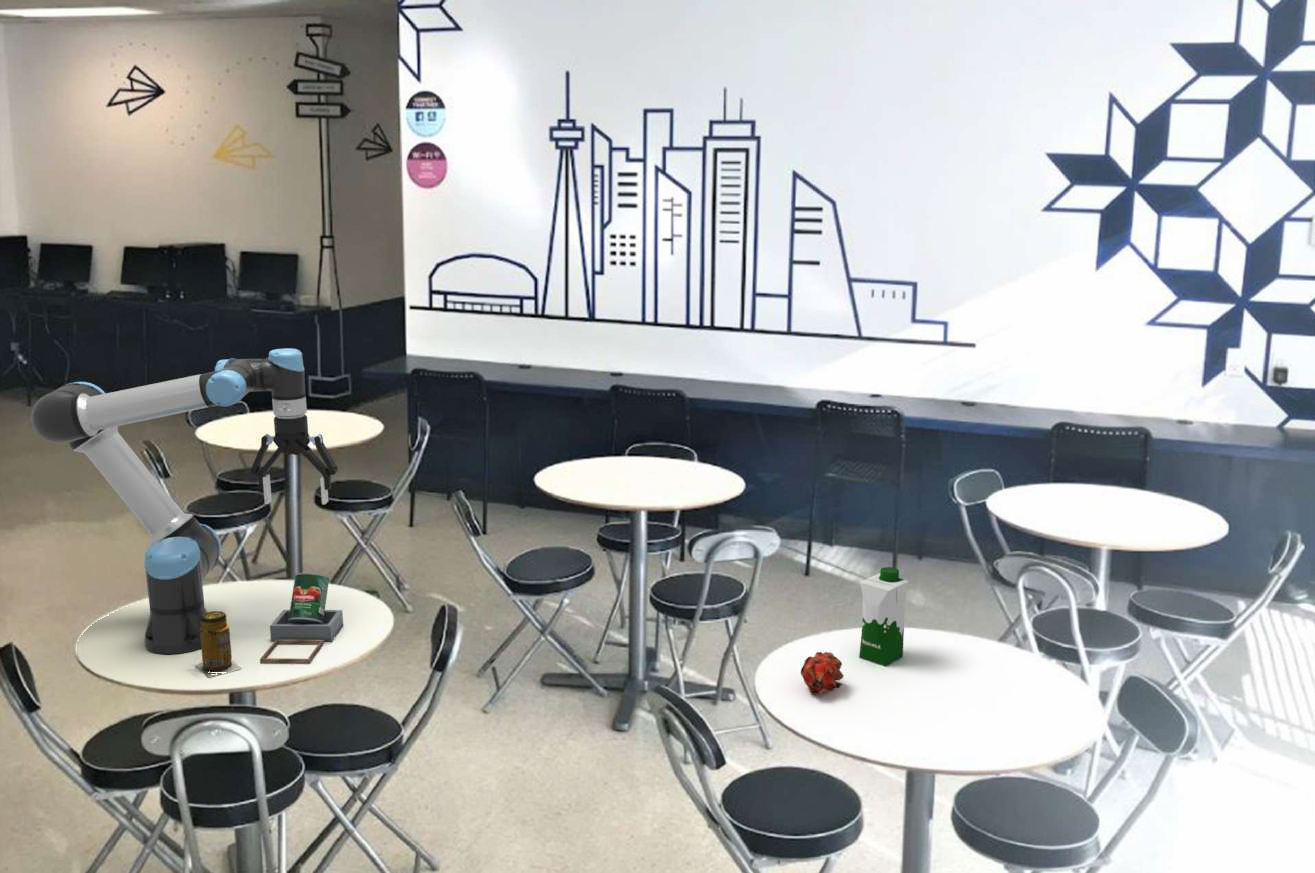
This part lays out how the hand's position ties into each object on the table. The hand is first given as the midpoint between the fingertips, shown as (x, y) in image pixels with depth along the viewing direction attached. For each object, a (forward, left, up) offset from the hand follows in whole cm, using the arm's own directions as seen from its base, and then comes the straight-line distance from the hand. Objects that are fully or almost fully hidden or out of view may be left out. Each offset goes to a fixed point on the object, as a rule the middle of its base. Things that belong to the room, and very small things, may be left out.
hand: (296, 502), depth 291 cm
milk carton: (+136, -22, -29) cm, 141 cm away
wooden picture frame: (+4, -22, -29) cm, 37 cm away
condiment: (-10, -30, -29) cm, 43 cm away
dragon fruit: (+121, -39, -29) cm, 130 cm away
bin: (+4, -11, -29) cm, 31 cm away
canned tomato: (+4, -12, -26) cm, 29 cm away
